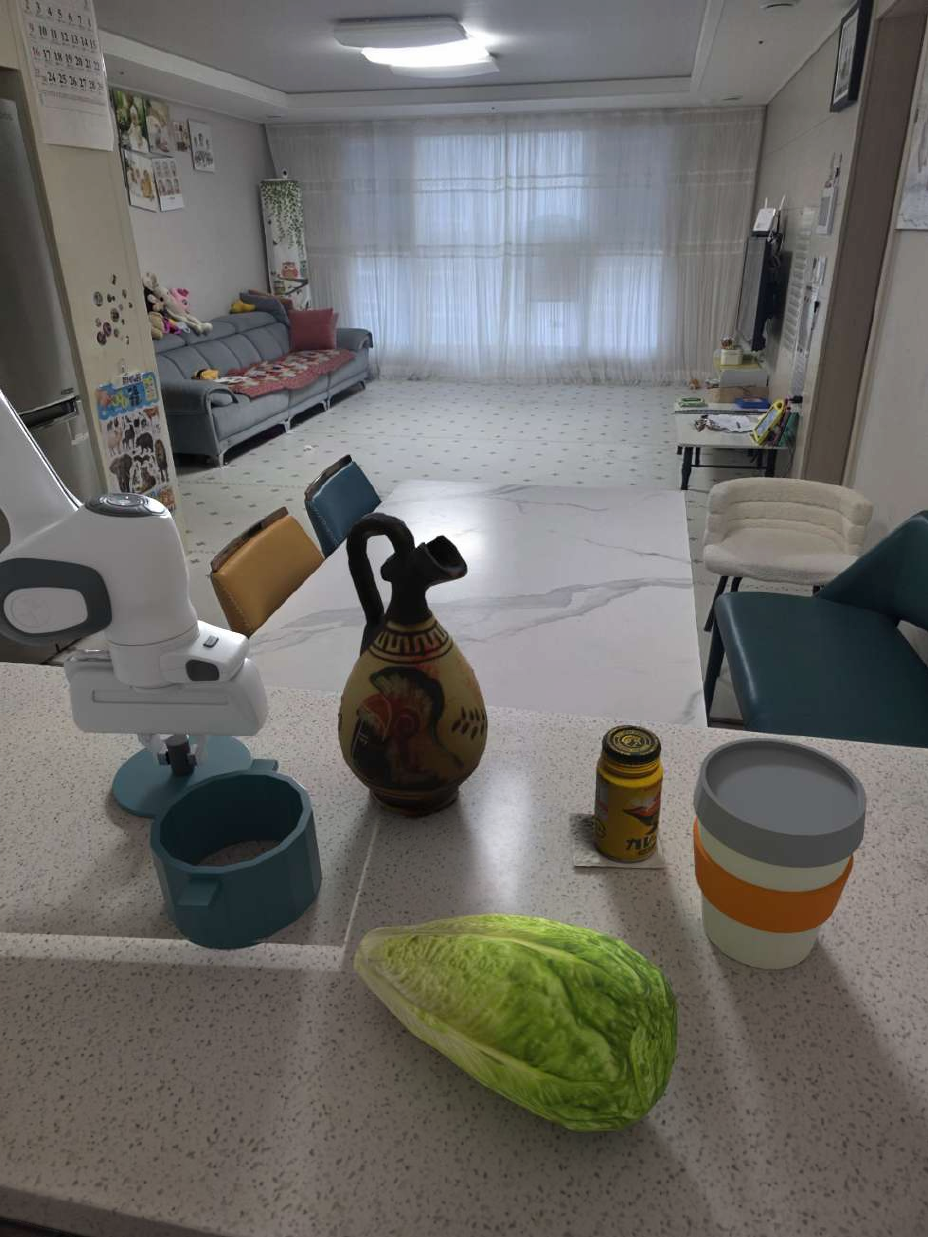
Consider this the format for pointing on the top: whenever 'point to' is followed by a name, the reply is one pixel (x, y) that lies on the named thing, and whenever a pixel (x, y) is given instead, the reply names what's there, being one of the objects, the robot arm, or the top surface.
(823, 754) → the reusable coffee cup
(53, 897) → the top surface
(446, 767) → the ceramic jug
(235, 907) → the pot
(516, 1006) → the lettuce
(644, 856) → the condiment
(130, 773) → the pot lid
